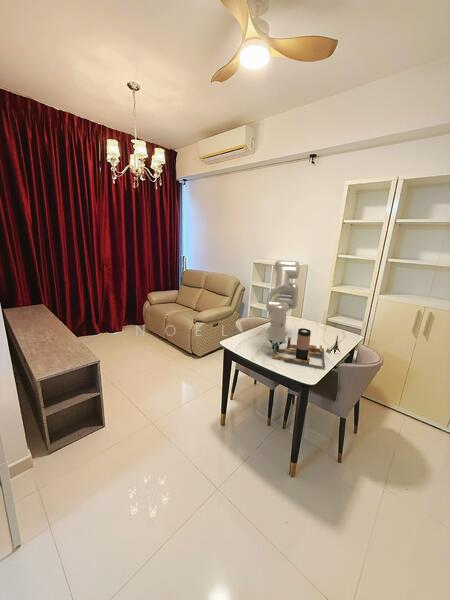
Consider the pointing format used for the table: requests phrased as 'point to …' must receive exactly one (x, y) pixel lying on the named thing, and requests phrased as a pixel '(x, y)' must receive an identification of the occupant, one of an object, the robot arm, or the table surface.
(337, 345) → the eiffel tower figurine
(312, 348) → the walnut block
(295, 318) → the table surface
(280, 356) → the brown low piece
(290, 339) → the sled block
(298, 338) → the travel mug
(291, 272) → the robot arm
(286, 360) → the lane frame
